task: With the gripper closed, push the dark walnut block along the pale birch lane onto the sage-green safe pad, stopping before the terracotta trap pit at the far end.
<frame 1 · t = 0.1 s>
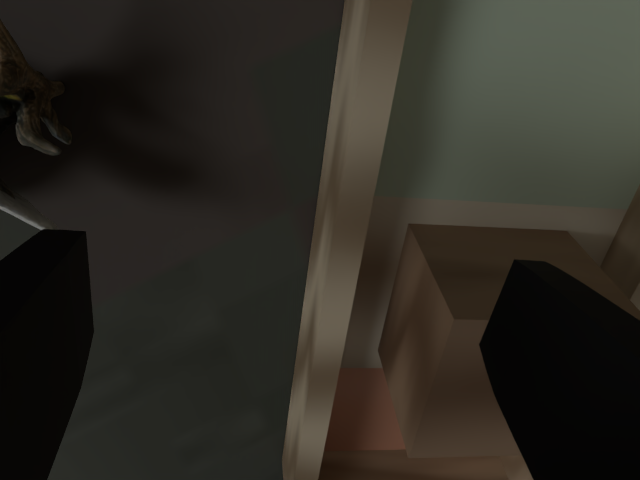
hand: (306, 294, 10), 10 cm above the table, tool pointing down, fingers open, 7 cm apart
walnut block: (467, 293, 21), point 1 cm above the table, touching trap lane
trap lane: (482, 182, 20), on the table
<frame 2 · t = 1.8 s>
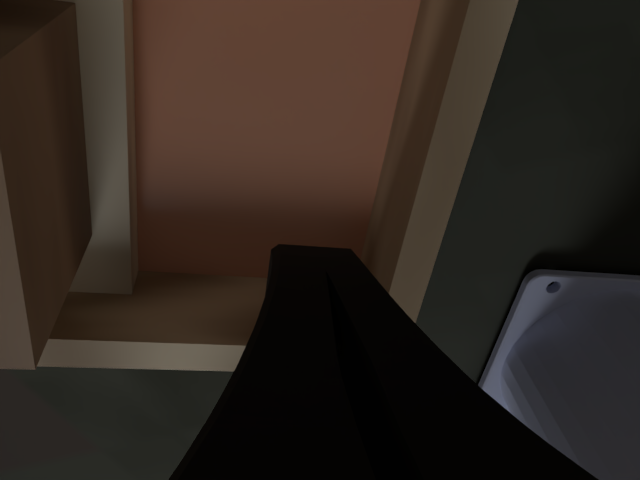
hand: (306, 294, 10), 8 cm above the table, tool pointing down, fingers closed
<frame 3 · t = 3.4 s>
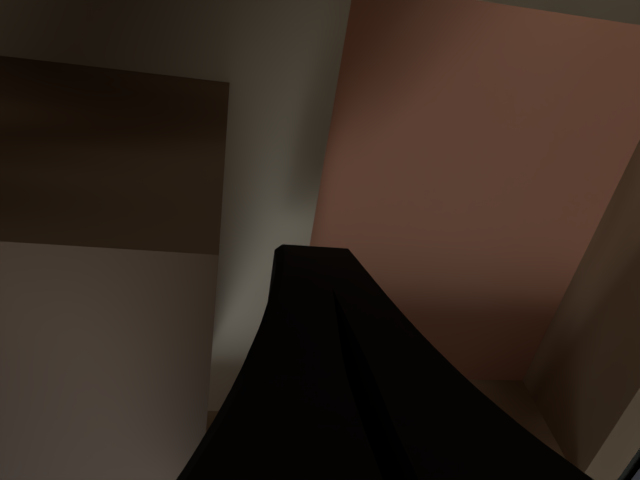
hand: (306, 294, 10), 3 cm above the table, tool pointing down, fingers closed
walnut block: (52, 224, 10), point 2 cm above the table, touching gripper
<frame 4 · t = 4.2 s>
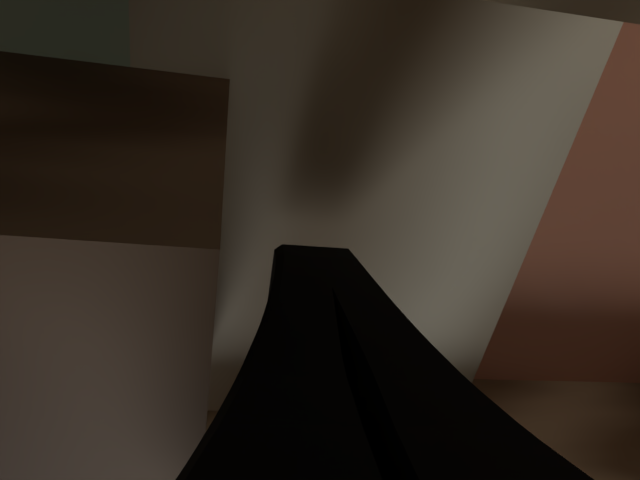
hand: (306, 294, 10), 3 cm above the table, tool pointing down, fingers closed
walnut block: (51, 221, 10), point 2 cm above the table, touching gripper
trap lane: (146, 191, 12), on the table
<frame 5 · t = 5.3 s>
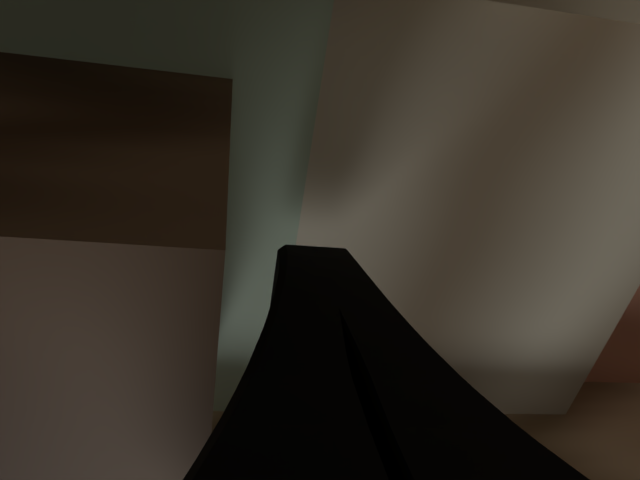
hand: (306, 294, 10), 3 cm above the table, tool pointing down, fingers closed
walnut block: (54, 222, 10), point 1 cm above the table, touching gripper, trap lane
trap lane: (290, 202, 12), on the table
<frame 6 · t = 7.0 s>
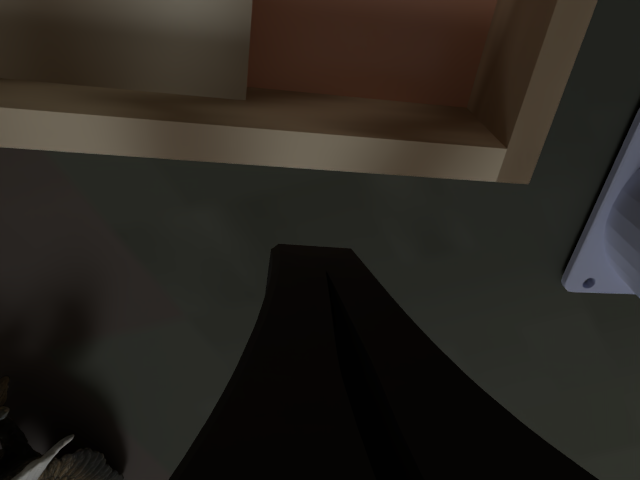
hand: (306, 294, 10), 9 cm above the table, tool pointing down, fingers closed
eagle figurine: (36, 437, 24), on the table
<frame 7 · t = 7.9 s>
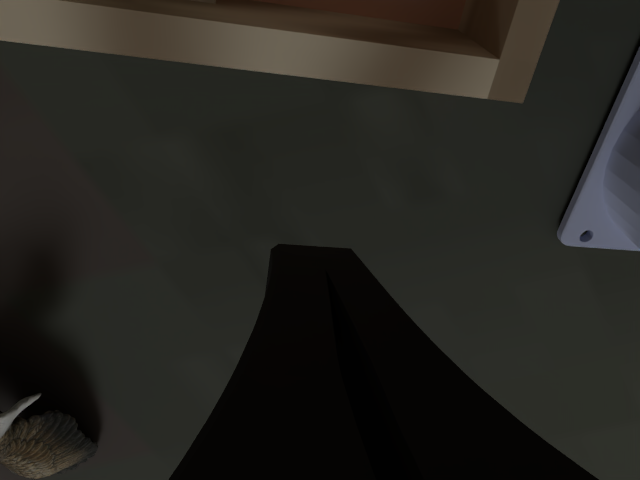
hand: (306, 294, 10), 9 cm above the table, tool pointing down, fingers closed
eagle figurine: (5, 401, 23), on the table
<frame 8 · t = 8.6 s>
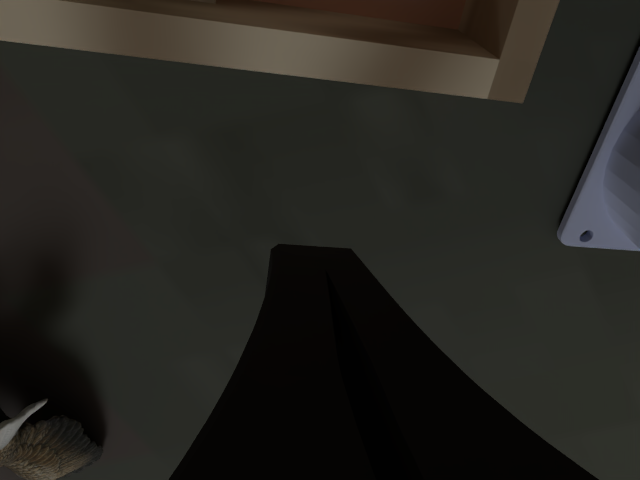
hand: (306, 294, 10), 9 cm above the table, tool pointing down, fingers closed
eagle figurine: (11, 405, 23), on the table
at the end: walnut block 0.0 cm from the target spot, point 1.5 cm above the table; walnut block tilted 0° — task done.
